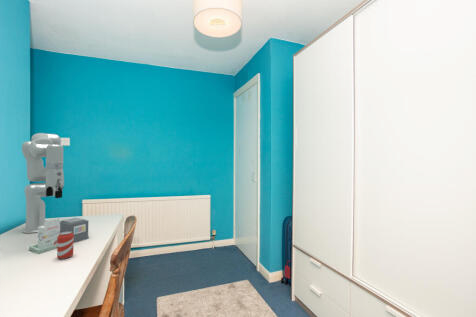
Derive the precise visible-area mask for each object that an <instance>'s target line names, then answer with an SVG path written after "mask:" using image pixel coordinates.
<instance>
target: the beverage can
mask: <svg viewBox="0 0 476 317" xmlns="http://www.w3.org/2000/svg"><path fill="white" fill-rule="evenodd" d="M74 243H75V242H74V235H73V233H72V231H65V232H61V233H59V236H58V237H57V248H56V250H57V252H56V258H58V259H59V260H66V259H68V258H71V257H72V256H74Z"/></svg>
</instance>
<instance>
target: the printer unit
mask: <svg viewBox="0 0 476 317" xmlns="http://www.w3.org/2000/svg"><path fill="white" fill-rule="evenodd" d="M65 231H72V233H73V235H74V243H78V242H81V241H84V240H87V239H89V220H88V219H85V218H81V217H80V218H79V217H72V218H66V219H62V220H61V219H60V233H61V232H65Z"/></svg>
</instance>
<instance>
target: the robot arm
mask: <svg viewBox="0 0 476 317" xmlns="http://www.w3.org/2000/svg"><path fill="white" fill-rule="evenodd" d="M21 152H22V155H23V157H24V158H25V162H26V177H27V180H28V181H29V182H36V183H29V184H27V185H25V187H24V196H25V204H26V206H25V208H26V210H25V229H23V230H22V233H23V234H35V233H38V227H40V226H44V222H46V203H45V201H44V200H43V199H42V198H47V197H54V199H60V198H61V199H62V198H63V189H64V186H65V175H64V145H63V144H61V137H60V136H59V135H58V134H57V133H45V132H38V133H35V134H33V135H32V136H31V139H30V140H28V141H24V142H23V143H22V144H21ZM43 158H45V166H44V160H43Z"/></svg>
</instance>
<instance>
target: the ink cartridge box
mask: <svg viewBox="0 0 476 317" xmlns="http://www.w3.org/2000/svg"><path fill="white" fill-rule="evenodd" d="M60 221H61V219H60V218H55V219H50V220H47V221H46V220H45V222H44V226H40V227H38V232H37V244H38V249H42V248H46V247H49V246H53V245H56V244H57V237H58V236H59V233H60Z"/></svg>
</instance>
